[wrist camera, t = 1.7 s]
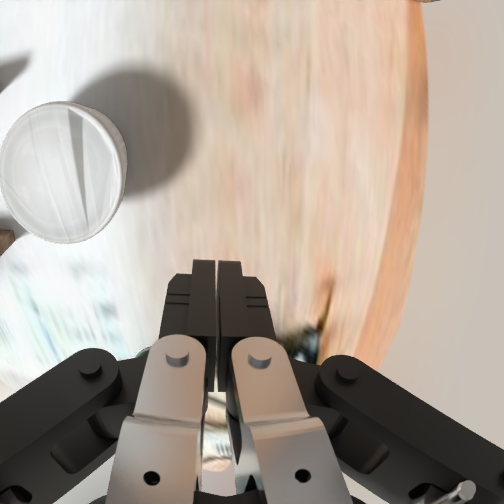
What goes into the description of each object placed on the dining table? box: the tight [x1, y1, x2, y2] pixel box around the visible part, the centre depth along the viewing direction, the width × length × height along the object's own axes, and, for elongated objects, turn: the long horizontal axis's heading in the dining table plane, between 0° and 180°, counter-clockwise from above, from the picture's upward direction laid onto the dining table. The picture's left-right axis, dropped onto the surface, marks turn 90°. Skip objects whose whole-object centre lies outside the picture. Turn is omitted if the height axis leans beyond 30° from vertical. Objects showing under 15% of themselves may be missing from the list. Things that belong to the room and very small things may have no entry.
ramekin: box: [0, 101, 127, 244], centre depth 22 cm, size 11×11×5 cm
